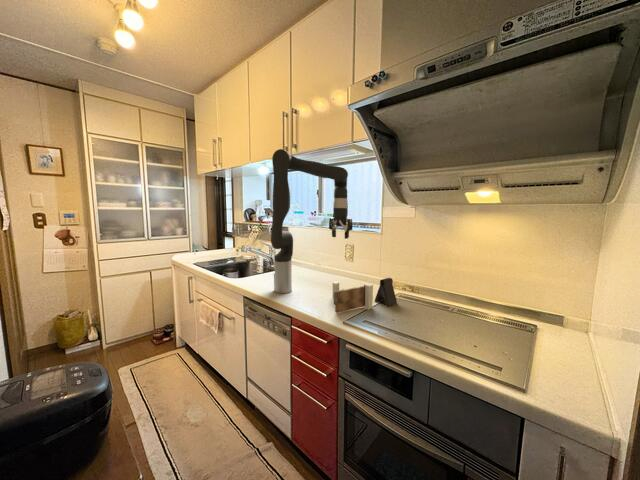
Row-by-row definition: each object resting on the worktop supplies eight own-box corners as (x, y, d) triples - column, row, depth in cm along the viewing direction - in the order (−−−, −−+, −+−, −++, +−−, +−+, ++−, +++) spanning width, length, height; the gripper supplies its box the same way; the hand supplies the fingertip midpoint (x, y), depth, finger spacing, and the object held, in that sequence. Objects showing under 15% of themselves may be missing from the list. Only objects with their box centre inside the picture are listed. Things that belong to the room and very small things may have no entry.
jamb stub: (332, 297, 132) (332, 282, 131) (335, 296, 134) (335, 281, 133) (336, 298, 131) (336, 283, 130) (339, 297, 132) (339, 282, 131)
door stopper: (374, 301, 127) (375, 277, 126) (382, 298, 131) (383, 275, 130) (389, 306, 120) (390, 281, 119) (397, 304, 124) (398, 279, 122)
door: (338, 314, 110) (338, 291, 109) (335, 312, 113) (335, 289, 111) (368, 306, 119) (368, 285, 117) (364, 305, 121) (365, 284, 120)
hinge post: (364, 308, 118) (365, 285, 117) (368, 306, 120) (369, 283, 119) (368, 309, 117) (369, 286, 115) (372, 307, 119) (372, 284, 117)
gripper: (325, 207, 138) (325, 237, 140) (346, 207, 128) (346, 239, 130) (335, 207, 143) (334, 236, 145) (355, 207, 133) (355, 238, 135)
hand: (340, 237), depth 137 cm, fingers open, 8 cm apart
